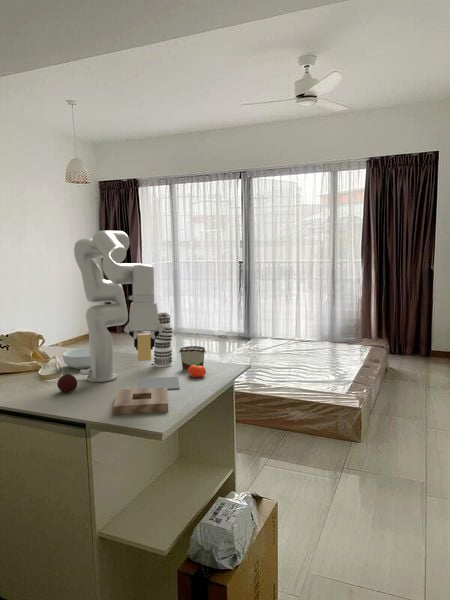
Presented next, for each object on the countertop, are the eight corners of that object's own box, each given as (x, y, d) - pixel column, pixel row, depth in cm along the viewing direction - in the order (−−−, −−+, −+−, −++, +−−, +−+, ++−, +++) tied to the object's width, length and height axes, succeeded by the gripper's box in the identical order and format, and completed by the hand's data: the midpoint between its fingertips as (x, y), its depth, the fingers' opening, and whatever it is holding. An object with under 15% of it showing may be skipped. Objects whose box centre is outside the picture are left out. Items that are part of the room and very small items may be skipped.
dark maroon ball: (56, 396, 165) (55, 378, 164) (58, 389, 173) (57, 372, 172) (77, 394, 167) (76, 376, 166) (78, 388, 175) (77, 371, 174)
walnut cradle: (113, 415, 145) (113, 406, 145) (118, 397, 163) (118, 389, 163) (168, 411, 148) (168, 403, 148) (167, 394, 166) (167, 387, 165)
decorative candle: (150, 363, 213) (149, 312, 210) (168, 361, 217) (167, 311, 214) (157, 368, 204) (155, 315, 202) (175, 365, 209) (174, 313, 206)
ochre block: (138, 360, 157) (137, 336, 156) (138, 357, 161) (138, 333, 160) (150, 360, 157) (150, 335, 156) (151, 357, 162) (150, 333, 161)
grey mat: (138, 391, 170) (138, 390, 170) (139, 379, 186) (139, 378, 186) (179, 389, 172) (179, 387, 172) (177, 378, 188) (177, 376, 188)
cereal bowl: (55, 370, 203) (54, 355, 202) (77, 361, 218) (76, 347, 218) (87, 372, 198) (86, 357, 197) (107, 363, 213) (107, 349, 213)
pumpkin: (194, 374, 195) (196, 360, 195) (208, 377, 190) (209, 363, 190) (183, 376, 190) (184, 361, 190) (197, 379, 185) (198, 364, 185)
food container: (207, 366, 206) (207, 345, 205) (206, 370, 200) (205, 348, 199) (182, 366, 208) (181, 345, 206) (179, 369, 201) (179, 348, 200)
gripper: (118, 300, 152) (119, 352, 154) (167, 300, 154) (168, 350, 156) (120, 298, 159) (121, 347, 162) (167, 297, 162) (168, 346, 164)
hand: (144, 348), depth 159 cm, fingers closed on ochre block, 4 cm apart
